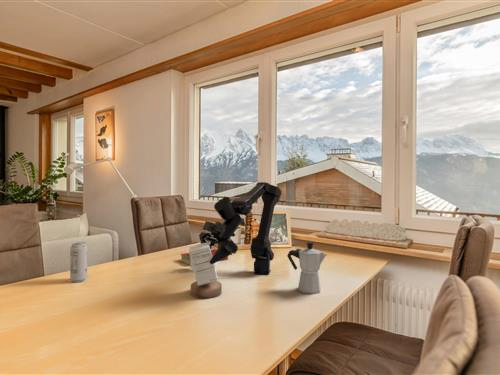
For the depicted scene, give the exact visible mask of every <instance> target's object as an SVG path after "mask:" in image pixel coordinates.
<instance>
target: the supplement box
mask: <svg viewBox="0 0 500 375" xmlns="http://www.w3.org/2000/svg"><path fill="white" fill-rule="evenodd" d="M188 253H189V254H190V258H191V262H192V266H193V270H194V272H193V273H194V276H195V280H196V281H197V284H198V286H199V285H203V284H206V283H210V282H213V281H218V279H219V278H218V272H217V270H216V265H215V264H216V263H214V264H210V261H211V259H212V253H211V249H210V245H209V242H206V243H202V244H201V243H199V244H195V245H191V246H189V249H188ZM196 281H195V282H196Z"/></svg>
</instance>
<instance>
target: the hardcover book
mask: <svg viewBox="0 0 500 375" xmlns="http://www.w3.org/2000/svg"><path fill="white" fill-rule="evenodd" d="M217 249H218V248H212V249H211V253H212V257H213V256H214V254H215V252H216V251H217ZM180 256H181V259H180V260H181V262H182V263H185V264H187V265H189V266H191V259H190V254H189V252H185V253H180ZM228 260H229V256H227V257H225V258H223V259H221V260H219V261H217V262H216V263H218V262H223V261H228Z"/></svg>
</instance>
